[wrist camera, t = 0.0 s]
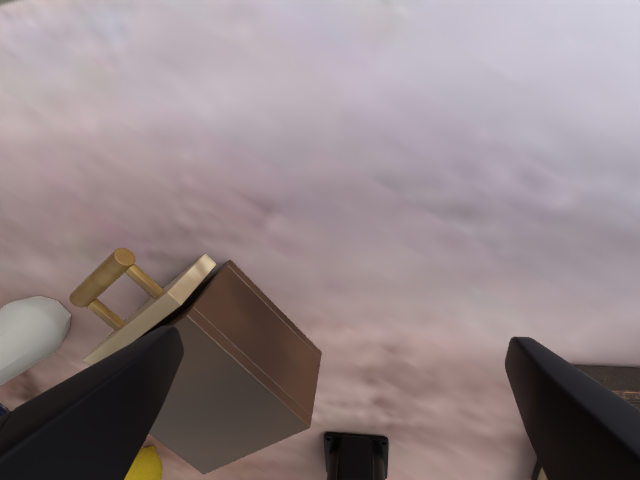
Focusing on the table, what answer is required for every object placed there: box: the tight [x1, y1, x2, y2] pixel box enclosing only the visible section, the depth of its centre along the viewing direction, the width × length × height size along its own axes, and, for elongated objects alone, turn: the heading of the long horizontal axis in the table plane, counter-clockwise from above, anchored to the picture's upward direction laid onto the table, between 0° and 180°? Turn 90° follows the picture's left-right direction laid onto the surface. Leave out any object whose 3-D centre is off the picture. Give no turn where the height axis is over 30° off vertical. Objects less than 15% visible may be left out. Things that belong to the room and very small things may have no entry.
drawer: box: [70, 248, 216, 366], centre depth 24 cm, size 15×10×5 cm
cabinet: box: [135, 260, 321, 474], centre depth 25 cm, size 12×12×7 cm
